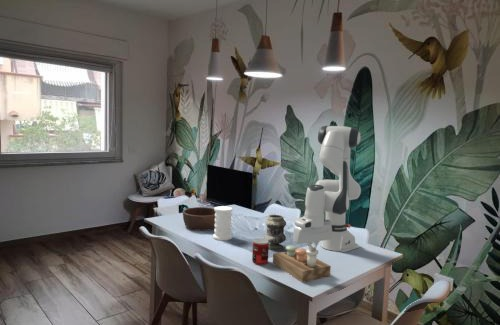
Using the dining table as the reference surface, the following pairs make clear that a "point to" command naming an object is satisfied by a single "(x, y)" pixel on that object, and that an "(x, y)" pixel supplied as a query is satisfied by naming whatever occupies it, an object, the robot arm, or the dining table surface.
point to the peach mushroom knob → (300, 254)
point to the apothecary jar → (275, 231)
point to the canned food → (260, 251)
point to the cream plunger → (311, 258)
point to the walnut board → (301, 267)
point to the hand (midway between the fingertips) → (312, 250)
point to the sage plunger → (291, 250)
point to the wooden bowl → (199, 218)
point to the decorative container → (222, 223)
